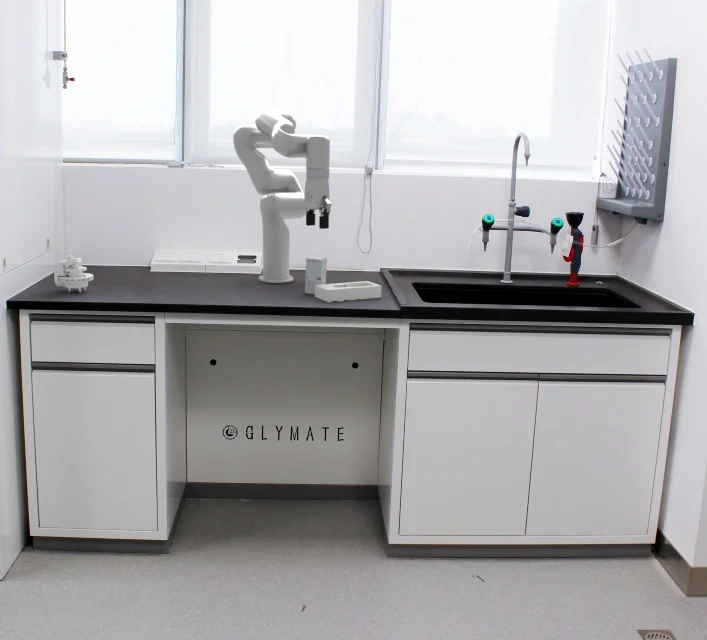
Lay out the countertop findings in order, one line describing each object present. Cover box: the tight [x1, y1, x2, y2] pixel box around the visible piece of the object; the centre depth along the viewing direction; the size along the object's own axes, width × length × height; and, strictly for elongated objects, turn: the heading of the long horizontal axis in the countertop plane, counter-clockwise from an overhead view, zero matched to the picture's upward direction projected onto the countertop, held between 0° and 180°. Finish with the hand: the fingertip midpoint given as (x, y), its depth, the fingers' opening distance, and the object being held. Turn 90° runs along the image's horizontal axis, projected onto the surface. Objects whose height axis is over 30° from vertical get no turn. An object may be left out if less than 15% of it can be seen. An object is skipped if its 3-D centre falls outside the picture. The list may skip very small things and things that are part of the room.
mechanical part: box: [53, 254, 94, 293], centre depth 258 cm, size 11×12×12 cm
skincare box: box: [304, 256, 328, 295], centre depth 265 cm, size 6×4×12 cm
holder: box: [314, 280, 382, 303], centre depth 261 cm, size 9×20×4 cm, turn 119°
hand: (317, 226), depth 261 cm, fingers open, 9 cm apart
